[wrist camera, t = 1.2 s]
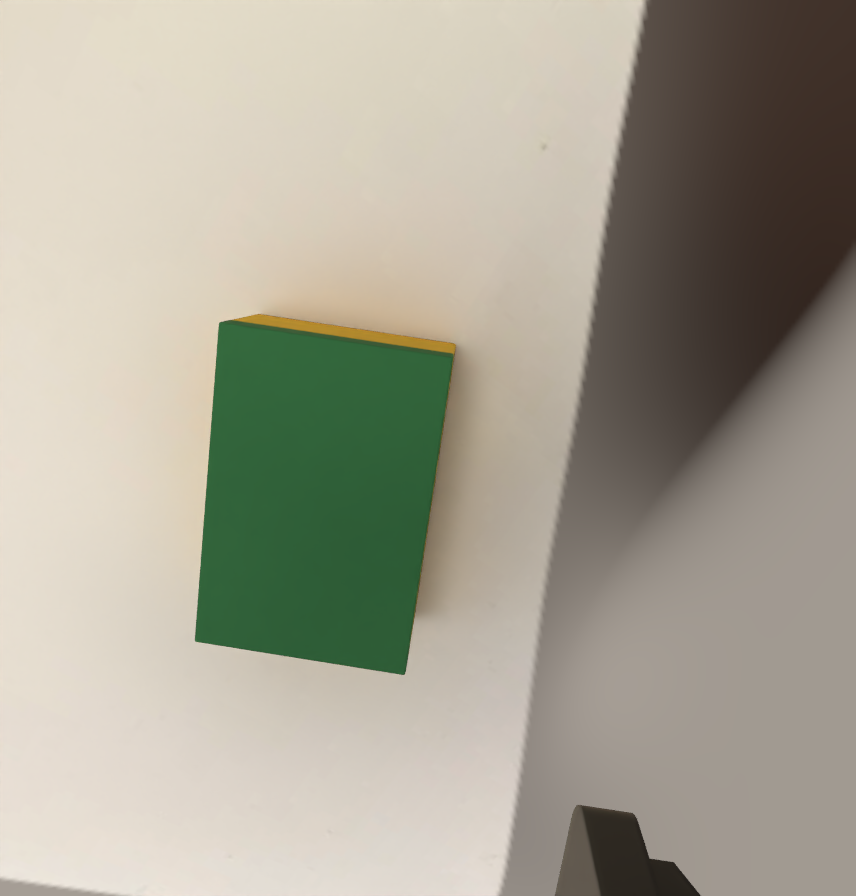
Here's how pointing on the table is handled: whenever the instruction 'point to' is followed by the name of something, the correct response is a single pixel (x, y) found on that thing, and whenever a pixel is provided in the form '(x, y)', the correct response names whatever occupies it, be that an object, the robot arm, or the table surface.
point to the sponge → (319, 489)
